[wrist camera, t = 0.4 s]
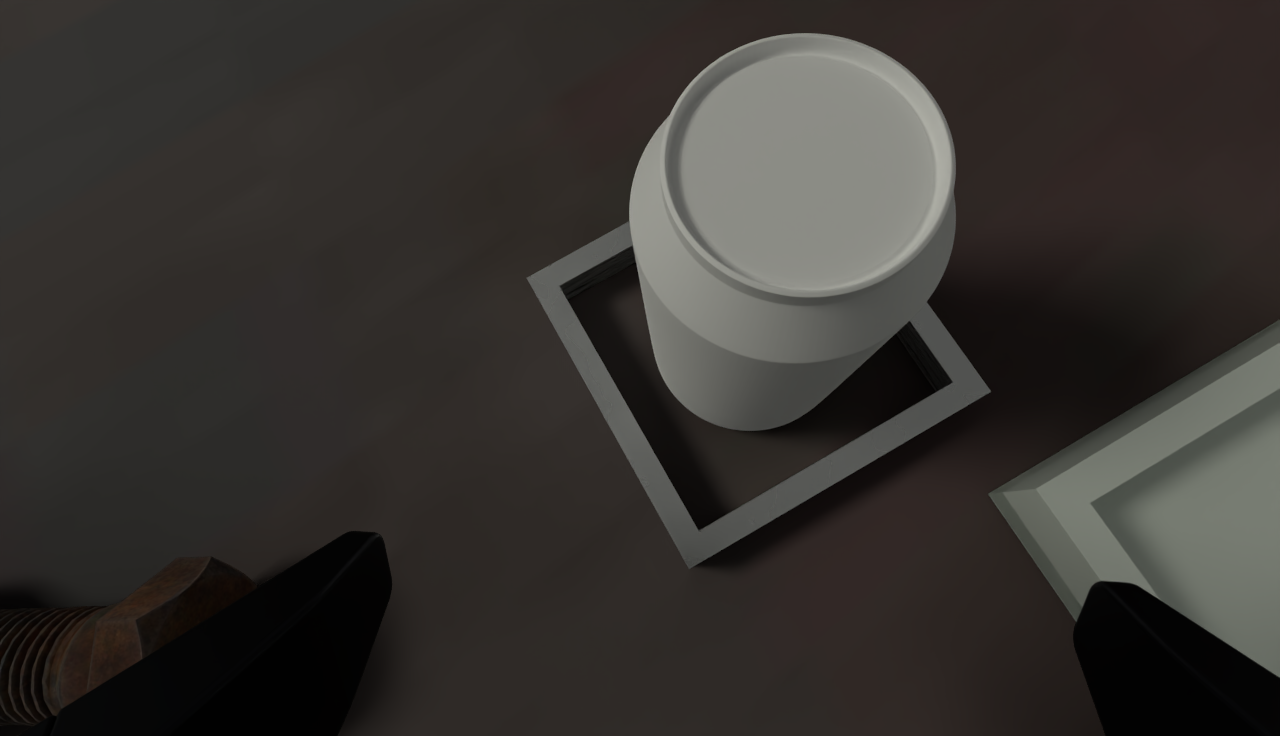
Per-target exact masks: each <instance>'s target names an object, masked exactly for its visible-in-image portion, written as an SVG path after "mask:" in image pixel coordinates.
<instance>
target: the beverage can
mask: <svg viewBox="0 0 1280 736" xmlns="http://www.w3.org/2000/svg"><path fill="white" fill-rule="evenodd" d="M955 175H956V161H955V151H954V145H953V140H952V136H951V133H950V130H949V127H948V124H947V122H946V119H945V117H944V115H943V113H942V111H941V109H940V107H939V106H938V104H937V102H936V101H935V99H934V98H933V96H932V95H931V94H930V92H929V91H928V90H927V88H926V87H925V86H924V85H923V84H922V83H921V82H920V81H919V80H918V78H916V77H915V76H914V75H913V74H912V73H911V72H910V71H909V70H908V69H906V68H905V67H904V66H903V65H901V64H900V63H898V62H897V61H896V60H894V59H893V58H891V57H889V56H888V55H886V54H884V53H882V52H880V51H878V50H876V49H874V48H872V47H870V46H867V45H865V44H862V43H859V42H856V41H853V40H850V39H846V38H842V37H837V36H832V35H824V34H811V33H800V34H786V35H779V36H773V37H769V38H765V39H761V40H757V41H754V42H751V43H749V44H746V45H744V46H741V47H739V48H737V49H735V50H733V51H731V52H729V53H727V54H725V55H724V56H722V57H720V58H719V59H717V60H716V61H714V62H713V63H712V64H710V65H709V66H708V67H707V68H705V69H704V70H703V71H702V72H701V73H700V74H699V75H698V76H697V77H696V78H695V79H694V80H693V81H692V82H691V83H690V84H689V85H688V87H687V88H686V89H685V90H684V92H683V93H682V95H681V96H680V98H679V99H678V101H677V102H676V104H675V106H674V108H673V110H672V112H671V114H670V116H669V117H668V118H667V119H666V120H665V121H664V122H663V123H662V125H661V126H660V127H659V128H658V130H657V131H656V132H655V134H654V135H653V137H652V138H651V140H650V141H649V143H648V145H647V147H646V149H645V150H644V152H643V155H642V157H641V159H640V161H639V164H638V167H637V169H636V173H635V176H634V180H633V184H632V189H631V196H630V209H629V217H630V230H631V237H632V243H633V248H634V254H635V259H636V264H637V270H638V275H639V280H640V285H641V291H642V296H643V301H644V306H645V312H646V317H647V322H648V327H649V332H650V337H651V342H652V347H653V351H654V356H655V359H656V363H657V365H658V368H659V371H660V373H661V376H662V378H663V380H664V381H665V383H666V385H667V386H668V388H669V389H670V391H671V392H672V393H673V395H674V396H675V397H676V398H677V399H678V400H679V401H680V402H681V403H682V404H683V405H684V406H685V407H686V408H687V409H688V410H690V411H691V412H693V413H694V414H695V415H697V416H699V417H700V418H702V419H704V420H706V421H708V422H710V423H712V424H715V425H718V426H721V427H724V428H729V429H734V430H742V431H758V430H766V429H772V428H776V427H779V426H782V425H785V424H788V423H790V422H792V421H794V420H796V419H798V418H800V417H801V416H803V415H804V414H806V413H807V412H809V411H810V410H812V409H813V408H814V407H815V406H817V405H818V404H819V403H820V402H821V401H822V400H823V399H825V398H826V397H827V396H828V395H829V394H830V393H831V392H832V391H833V390H835V389H836V388H837V387H838V386H839V385H840V384H841V383H842V382H843V381H844V380H846V379H847V378H848V377H849V376H850V375H851V374H852V373H853V372H854V371H855V370H857V369H858V368H859V367H860V366H861V365H862V364H863V363H864V362H865V361H866V360H867V359H869V358H870V357H871V356H872V355H873V354H874V353H875V352H876V351H877V350H878V349H879V348H881V347H882V346H883V345H884V344H885V343H886V342H887V341H888V340H889V339H890V338H891V337H892V336H894V335H895V334H896V333H897V332H898V331H899V330H900V329H901V328H902V327H903V326H904V325H905V324H907V323H908V322H909V321H910V320H911V319H912V318H913V317H914V316H915V315H916V314H917V313H918V311H919V310H920V309H921V308H922V307H923V306H924V304H925V303H926V302H927V301H928V299H929V298H930V296H931V295H932V293H933V292H934V290H935V289H936V287H937V285H938V284H939V282H940V280H941V278H942V276H943V274H944V271H945V269H946V267H947V264H948V261H949V258H950V255H951V251H952V247H953V242H954V236H955V226H956V208H955V199H954V192H953V190H954V184H955Z"/></svg>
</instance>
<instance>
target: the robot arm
mask: <svg viewBox="0 0 1280 736" xmlns="http://www.w3.org/2000/svg"><path fill="white" fill-rule="evenodd" d="M391 590H392V577H391V572H390V567H389V563H388V558H387V553H386V548H385V543H384V540H383V538H382V536H381V535H380V534H378V533H375V532H362V531H350V532H347V533H345V534H343V535H341V536H340V537H338V538H337V539H335V540H333V541H332V542H330V543H329V544H327V545H325V546H324V547H322V548H320V549H319V550H317V551H316V552H314V553H312V554H311V555H309V556H308V557H306V558H304V559H303V560H301V561H299V562H298V563H296V564H295V565H293V566H291V567H290V568H288V569H287V570H285V571H283V572H282V573H280V574H279V575H277V576H275V577H274V578H272V579H270V580H269V581H267V582H266V583H264V584H262V585H261V586H259V587H258V588H256V589H254V590H253V591H251V592H249V593H248V594H246V595H245V596H243V597H241V598H240V599H238V600H237V601H235V602H233V603H232V604H230V605H229V606H227V607H225V608H224V609H222V610H220V611H219V612H217V613H216V614H214V615H212V616H211V617H209V618H208V619H206V620H204V621H203V622H201V623H199V624H198V625H196V626H195V627H193V628H191V629H190V630H188V631H187V632H185V633H183V634H182V635H180V636H179V637H177V638H175V639H174V640H172V641H170V642H169V643H167V644H166V645H164V646H162V647H161V648H159V649H158V650H156V651H154V652H153V653H151V654H149V655H148V656H146V657H145V658H143V659H141V660H140V661H138V662H137V663H135V664H133V665H132V666H130V667H128V668H127V669H125V670H124V671H122V672H120V673H119V674H117V675H116V676H114V677H112V678H111V679H109V680H107V681H106V682H104V683H103V684H101V685H99V686H98V687H96V688H95V689H93V690H91V691H90V692H88V693H86V694H85V695H83V696H82V697H80V698H78V699H77V700H75V701H74V702H72V703H70V704H69V705H67V706H65V707H64V708H62V709H61V710H60V711H59V712H58V715H57V716H55V715H52V716H49V717H47V718H46V719H44V720H43V721H41V722H39V723H38V724H36V725H35V726H33V727H31V728H30V729H28V730H27V731H25V732H23V733H22V734H20V735H18V736H337V735H338V733H339V731H340V729H341V727H342V724H343V722H344V720H345V718H346V716H347V713H348V711H349V709H350V707H351V704H352V701H353V699H354V696H355V694H356V691H357V688H358V686H359V683H360V680H361V677H362V674H363V672H364V669H365V666H366V663H367V660H368V658H369V655H370V652H371V649H372V646H373V644H374V641H375V638H376V635H377V632H378V630H379V627H380V624H381V621H382V618H383V616H384V613H385V610H386V607H387V604H388V602H389V599H390V595H391ZM1073 641H1074V647H1075V650H1076V653H1077V656H1078V659H1079V662H1080V665H1081V668H1082V670H1083V673H1084V676H1085V679H1086V682H1087V685H1088V687H1089V690H1090V693H1091V696H1092V699H1093V702H1094V704H1095V707H1096V710H1097V713H1098V716H1099V719H1100V721H1101V724H1102V727H1103V730H1104V733H1105V736H1280V677H1278V676H1277V675H1275V674H1274V673H1272V672H1270V671H1269V670H1267V669H1266V668H1264V667H1263V666H1261V665H1260V664H1258V663H1257V662H1255V661H1253V660H1252V659H1250V658H1249V657H1247V656H1246V655H1244V654H1243V653H1241V652H1240V651H1238V650H1237V649H1235V648H1233V647H1232V646H1230V645H1229V644H1227V643H1226V642H1224V641H1223V640H1221V639H1220V638H1218V637H1216V636H1215V635H1213V634H1212V633H1210V632H1209V631H1207V630H1206V629H1204V628H1203V627H1201V626H1200V625H1198V624H1196V623H1195V622H1193V621H1192V620H1190V619H1189V618H1187V617H1186V616H1184V615H1183V614H1181V613H1179V612H1178V611H1176V610H1175V609H1173V608H1172V607H1170V606H1169V605H1167V604H1166V603H1164V602H1163V601H1161V600H1159V599H1158V598H1156V597H1155V596H1153V595H1152V594H1150V593H1149V592H1147V591H1146V590H1144V589H1143V588H1141V587H1139V586H1138V585H1135V584H1133V583H1128V582H1114V581H1098V582H1096V583H1094V584H1093V585H1092V586H1091V588H1090V590H1089V592H1088V594H1087V597H1086V599H1085V602H1084V604H1083V607H1082V609H1081V612H1080V614H1079V617H1078V619H1077V622H1076V624H1075V627H1074V633H1073Z"/></svg>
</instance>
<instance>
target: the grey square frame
mask: <svg viewBox="0 0 1280 736" xmlns="http://www.w3.org/2000/svg"><path fill="white" fill-rule="evenodd" d="M634 263H636V259H635V254H634V248H633V243H632V237H631V230H630V221H629V222H627V223H626V224H624V225H622V226H620V227H618V228H616V229H615V230H613V231H611V232H609V233H607V234H606V235H604V236H602V237H600V238H598V239H597V240H595V241H593V242H591V243H589V244H587V245H586V246H584V247H582V248H580V249H578V250H577V251H575V252H573V253H571V254H569V255H567V256H566V257H564V258H562V259H560V260H558V261H557V262H555V263H553V264H551V265H549V266H548V267H546V268H544V269H542V270H540V271H538V272H537V273H535V274H533V275H531V276H529V277H528V278H527V279H528V281H529V283H530V285H531V286H532V288H533V290H534V292H535V294H536V295H537V297H538V299H539V301H540V302H541V304H542V306H543V308H544V310H545V311H546V313H547V315H548V317H549V319H550V320H551V322H552V324H553V326H554V328H555V329H556V331H557V333H558V335H559V337H560V338H561V340H562V342H563V344H564V346H565V347H566V349H567V351H568V353H569V354H570V356H571V358H572V360H573V362H574V363H575V365H576V367H577V369H578V371H579V372H580V374H581V376H582V378H583V380H584V381H585V383H586V385H587V387H588V389H589V390H590V392H591V394H592V396H593V398H594V399H595V401H596V403H597V405H598V406H599V408H600V410H601V412H602V414H603V415H604V417H605V419H606V421H607V423H608V424H609V426H610V428H611V430H612V432H613V433H614V435H615V437H616V439H617V441H618V442H619V444H620V446H621V448H622V449H623V451H624V453H625V455H626V457H627V458H628V460H629V462H630V464H631V466H632V467H633V469H634V471H635V473H636V475H637V476H638V478H639V480H640V482H641V484H642V485H643V487H644V489H645V491H646V493H647V494H648V496H649V498H650V500H651V501H652V503H653V505H654V507H655V509H656V510H657V512H658V514H659V516H660V518H661V519H662V521H663V523H664V525H665V527H666V528H667V530H668V532H669V534H670V536H671V537H672V539H673V541H674V543H675V545H676V546H677V548H678V550H679V552H680V553H681V555H682V557H683V559H684V561H685V562H686V564H687V566H688V568H689V569H690V568H692V567H694V566H695V565H697V564H699V563H700V562H702V561H704V560H706V559H707V558H709V557H711V556H712V555H714V554H716V553H717V552H719V551H721V550H723V549H724V548H726V547H728V546H729V545H731V544H733V543H734V542H736V541H738V540H740V539H741V538H743V537H745V536H746V535H748V534H750V533H751V532H753V531H755V530H757V529H758V528H760V527H762V526H763V525H765V524H767V523H769V522H770V521H772V520H774V519H775V518H777V517H779V516H780V515H782V514H784V513H786V512H787V511H789V510H791V509H792V508H794V507H796V506H797V505H799V504H801V503H803V502H804V501H806V500H808V499H809V498H811V497H813V496H814V495H816V494H818V493H820V492H821V491H823V490H825V489H826V488H828V487H830V486H831V485H833V484H835V483H837V482H838V481H840V480H842V479H843V478H845V477H847V476H849V475H850V474H852V473H854V472H855V471H857V470H859V469H860V468H862V467H864V466H866V465H867V464H869V463H871V462H872V461H874V460H876V459H877V458H879V457H881V456H883V455H884V454H886V453H888V452H889V451H891V450H893V449H894V448H896V447H898V446H900V445H901V444H903V443H905V442H906V441H908V440H910V439H911V438H913V437H915V436H917V435H918V434H920V433H922V432H923V431H925V430H927V429H929V428H930V427H932V426H934V425H935V424H937V423H939V422H940V421H942V420H944V419H946V418H947V417H949V416H951V415H952V414H954V413H956V412H957V411H959V410H961V409H963V408H964V407H966V406H968V405H969V404H971V403H973V402H974V401H976V400H978V399H980V398H981V397H983V396H985V395H986V394H988V393H990V392H991V391H990V389H989V388H988V387H987V385H986V384H985V382H984V381H983V380H982V378H981V377H980V375H979V374H978V373H977V371H976V370H975V368H974V367H973V366H972V364H971V363H970V361H969V360H968V359H967V357H966V356H965V355H964V353H963V352H962V350H961V349H960V348H959V346H958V345H957V343H956V342H955V341H954V339H953V338H952V336H951V335H950V334H949V332H948V331H947V329H946V328H945V327H944V325H943V324H942V322H941V321H940V320H939V318H938V317H937V316H936V314H935V313H934V311H933V310H932V309H931V307H930V306H929V304H928V303H927V302H926V303H925V304H924V306H923V307H922V308H921V309H920V310H919V311H918V313H917V314H916V315H915V316H914V317H913V318H912V319H911V320H910V321H909V322H908V323H907V324H905V325H904V326H903V327H902V328H901V329H900V330H899V331H898V332H897V333H896V336H897V337H898V338H899V340H900V341H901V343H902V344H903V346H904V347H905V349H906V350H907V351H908V353H909V354H910V356H911V357H912V359H913V360H914V361H915V363H916V364H917V366H918V367H919V369H920V370H921V372H922V373H923V374H924V376H925V377H926V379H927V380H928V382H929V383H930V384H931V386H932V387H933V389H934V390H935V393H933V394H931V395H929V396H928V397H926V398H924V399H923V400H921V401H919V402H917V403H916V404H914V405H912V406H911V407H909V408H907V409H905V410H904V411H902V412H900V413H899V414H897V415H895V416H893V417H892V418H890V419H888V420H887V421H885V422H883V423H881V424H880V425H878V426H876V427H875V428H873V429H871V430H869V431H868V432H866V433H864V434H863V435H861V436H859V437H858V438H856V439H854V440H852V441H851V442H849V443H847V444H846V445H844V446H842V447H840V448H839V449H837V450H835V451H834V452H832V453H830V454H828V455H827V456H825V457H823V458H822V459H820V460H818V461H816V462H815V463H813V464H811V465H810V466H808V467H806V468H804V469H803V470H801V471H799V472H798V473H796V474H794V475H792V476H791V477H789V478H787V479H786V480H784V481H782V482H781V483H779V484H777V485H775V486H774V487H772V488H770V489H769V490H767V491H765V492H763V493H762V494H760V495H758V496H757V497H755V498H753V499H751V500H750V501H748V502H746V503H745V504H743V505H741V506H739V507H738V508H736V509H734V510H733V511H731V512H729V513H727V514H726V515H724V516H722V517H721V518H719V519H717V520H715V521H714V522H712V523H710V524H709V525H707V526H705V527H704V528H702V529H700V530H698V529H697V527H696V525H695V524H694V522H693V520H692V518H691V516H690V515H689V513H688V511H687V509H686V508H685V506H684V504H683V502H682V501H681V499H680V497H679V495H678V494H677V492H676V490H675V488H674V487H673V485H672V483H671V481H670V480H669V478H668V476H667V474H666V473H665V471H664V469H663V467H662V466H661V464H660V462H659V460H658V459H657V457H656V455H655V453H654V452H653V450H652V448H651V446H650V444H649V443H648V441H647V439H646V437H645V436H644V434H643V432H642V430H641V429H640V427H639V425H638V423H637V422H636V420H635V418H634V416H633V415H632V413H631V411H630V409H629V408H628V406H627V404H626V402H625V401H624V399H623V397H622V395H621V394H620V392H619V390H618V388H617V387H616V385H615V383H614V381H613V380H612V378H611V376H610V374H609V372H608V371H607V369H606V367H605V365H604V364H603V362H602V360H601V358H600V357H599V355H598V353H597V351H596V350H595V348H594V346H593V344H592V343H591V341H590V339H589V337H588V336H587V334H586V332H585V330H584V329H583V327H582V325H581V323H580V322H579V320H578V318H577V316H576V315H575V313H574V311H573V309H572V308H571V306H570V304H569V302H568V301H567V300H569V299H571V298H573V297H574V296H576V295H578V294H580V293H582V292H583V291H585V290H587V289H589V288H591V287H592V286H594V285H596V284H598V283H600V282H601V281H603V280H605V279H607V278H609V277H610V276H612V275H614V274H616V273H618V272H619V271H621V270H623V269H625V268H627V267H628V266H630V265H632V264H634Z"/></svg>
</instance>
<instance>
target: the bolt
mask: <svg viewBox="0 0 1280 736" xmlns="http://www.w3.org/2000/svg"><path fill="white" fill-rule="evenodd" d="M256 588H258V587H257V586H256V584H255V583H254V582H253V581H252V580H251V579H250V578H249V577H247V576H246V575H245V574H244V573H242V572H241V571H239V570H237V569H235V568H234V567H232V566H230V565H228V564H226V563H224V562H222V561H220V560H218V559H216V558H213V557H183V558H176V559H175V560H174V561H173V562H171V563H170V564H169V565H167V566H166V567H165V568H164V569H162V570H161V571H160V572H158V573H157V574H156V575H155V576H153V577H152V578H151V579H150V580H148V581H147V582H146V583H144V584H143V585H142V586H141V587H139V588H138V589H137V590H135V591H134V592H133V593H132V594H130V595H129V596H128V597H126V598H125V599H124V600H123V601H121V602H120V603H116V604H112V605H110V606H102V607H100V606H91V607H87V606H83V607H70V608H55V607H51V608H28V609H26V608H21V609H0V726H6V725H30V726H35V725H36V724H38V723H39V722H41V721H43V720H44V719H46V718H47V717H49V716H52V715H55V716H57V715H58V712H59V711H60V710H61V709H62V708H64V707H65V706H67V705H69V704H70V703H72V702H74V701H75V700H77V699H78V698H80V697H82V696H83V695H85V694H86V693H88V692H90V691H91V690H93V689H95V688H96V687H98V686H99V685H101V684H103V683H104V682H106V681H107V680H109V679H111V678H112V677H114V676H116V675H117V674H119V673H120V672H122V671H124V670H125V669H127V668H128V667H130V666H132V665H133V664H135V663H137V662H138V661H140V660H141V659H143V658H145V657H146V656H148V655H149V654H151V653H153V652H154V651H156V650H158V649H159V648H161V647H162V646H164V645H166V644H167V643H169V642H170V641H172V640H174V639H175V638H177V637H179V636H180V635H182V634H183V633H185V632H187V631H188V630H190V629H191V628H193V627H195V626H196V625H198V624H199V623H201V622H203V621H204V620H206V619H208V618H209V617H211V616H212V615H214V614H216V613H217V612H219V611H220V610H222V609H224V608H225V607H227V606H229V605H230V604H232V603H233V602H235V601H237V600H238V599H240V598H241V597H243V596H245V595H246V594H248V593H249V592H251V591H253V590H254V589H256Z"/></svg>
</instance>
